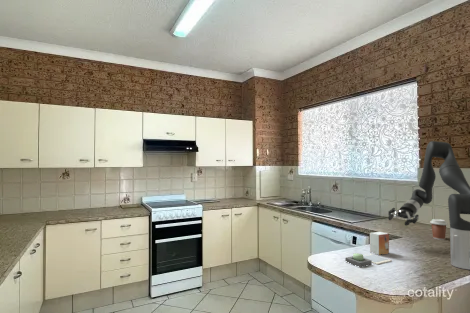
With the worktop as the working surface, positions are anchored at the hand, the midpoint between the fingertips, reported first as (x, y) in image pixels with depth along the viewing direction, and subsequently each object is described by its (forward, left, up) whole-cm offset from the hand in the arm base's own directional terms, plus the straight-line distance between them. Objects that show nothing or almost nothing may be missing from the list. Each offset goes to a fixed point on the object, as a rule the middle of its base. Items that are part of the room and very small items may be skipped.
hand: (397, 221), depth 153 cm
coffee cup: (+3, -48, -15) cm, 50 cm away
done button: (-6, +40, -14) cm, 43 cm away
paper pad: (-6, +28, -15) cm, 33 cm away
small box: (0, +16, -15) cm, 23 cm away
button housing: (-6, +40, -15) cm, 44 cm away
